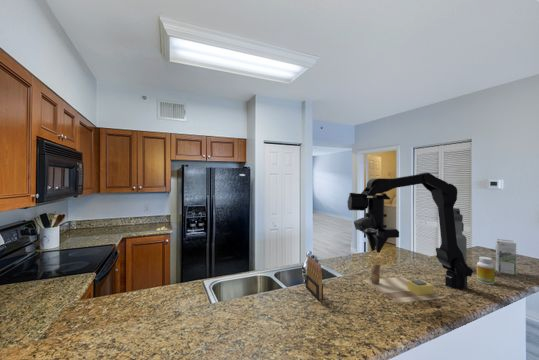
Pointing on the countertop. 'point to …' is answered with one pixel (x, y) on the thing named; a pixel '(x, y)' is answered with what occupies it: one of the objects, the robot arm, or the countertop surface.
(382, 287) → the plywood panel
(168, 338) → the countertop surface
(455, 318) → the countertop surface
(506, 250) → the syrup box
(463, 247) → the water bottle
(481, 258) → the supplement bottle
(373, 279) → the wooden tool handle
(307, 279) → the ammunition clip
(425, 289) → the block
